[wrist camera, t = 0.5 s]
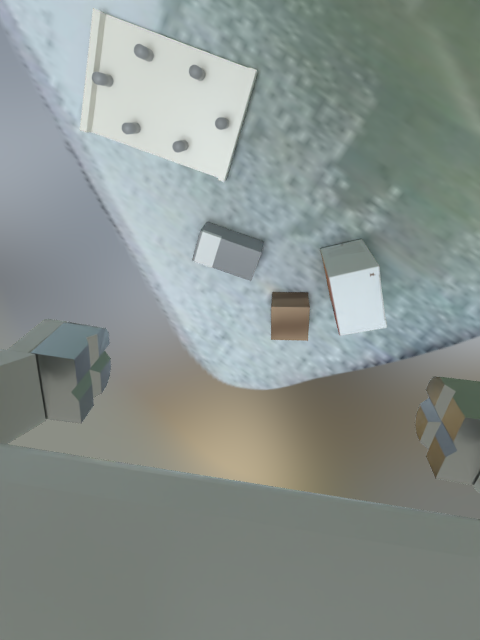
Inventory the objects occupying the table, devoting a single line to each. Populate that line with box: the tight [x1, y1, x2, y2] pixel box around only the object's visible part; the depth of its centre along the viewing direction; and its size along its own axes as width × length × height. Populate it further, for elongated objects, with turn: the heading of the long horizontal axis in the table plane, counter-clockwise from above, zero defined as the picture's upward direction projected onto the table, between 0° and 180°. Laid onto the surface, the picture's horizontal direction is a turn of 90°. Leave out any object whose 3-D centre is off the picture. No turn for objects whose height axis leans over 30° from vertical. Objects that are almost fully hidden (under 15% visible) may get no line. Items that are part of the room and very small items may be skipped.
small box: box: [320, 239, 387, 336], centre depth 48 cm, size 8×6×10 cm
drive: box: [192, 222, 263, 281], centre depth 51 cm, size 4×8×5 cm, turn 72°
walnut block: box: [271, 292, 310, 341], centre depth 54 cm, size 5×5×5 cm
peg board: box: [80, 8, 258, 182], centre depth 44 cm, size 12×18×4 cm, turn 72°
